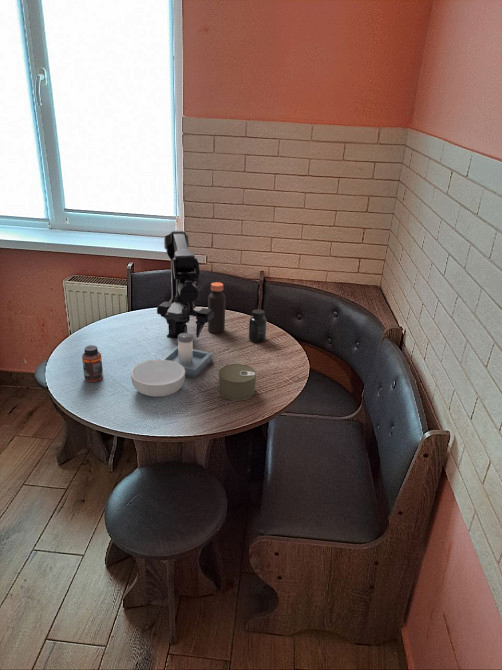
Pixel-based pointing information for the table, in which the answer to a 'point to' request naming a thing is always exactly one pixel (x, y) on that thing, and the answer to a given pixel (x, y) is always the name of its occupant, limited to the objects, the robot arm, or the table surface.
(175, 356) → the tray
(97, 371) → the supplement bottle
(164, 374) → the cereal bowl
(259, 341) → the supplement bottle
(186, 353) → the shaker
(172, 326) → the robot arm
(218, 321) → the vinegar
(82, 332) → the table surface
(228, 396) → the can
